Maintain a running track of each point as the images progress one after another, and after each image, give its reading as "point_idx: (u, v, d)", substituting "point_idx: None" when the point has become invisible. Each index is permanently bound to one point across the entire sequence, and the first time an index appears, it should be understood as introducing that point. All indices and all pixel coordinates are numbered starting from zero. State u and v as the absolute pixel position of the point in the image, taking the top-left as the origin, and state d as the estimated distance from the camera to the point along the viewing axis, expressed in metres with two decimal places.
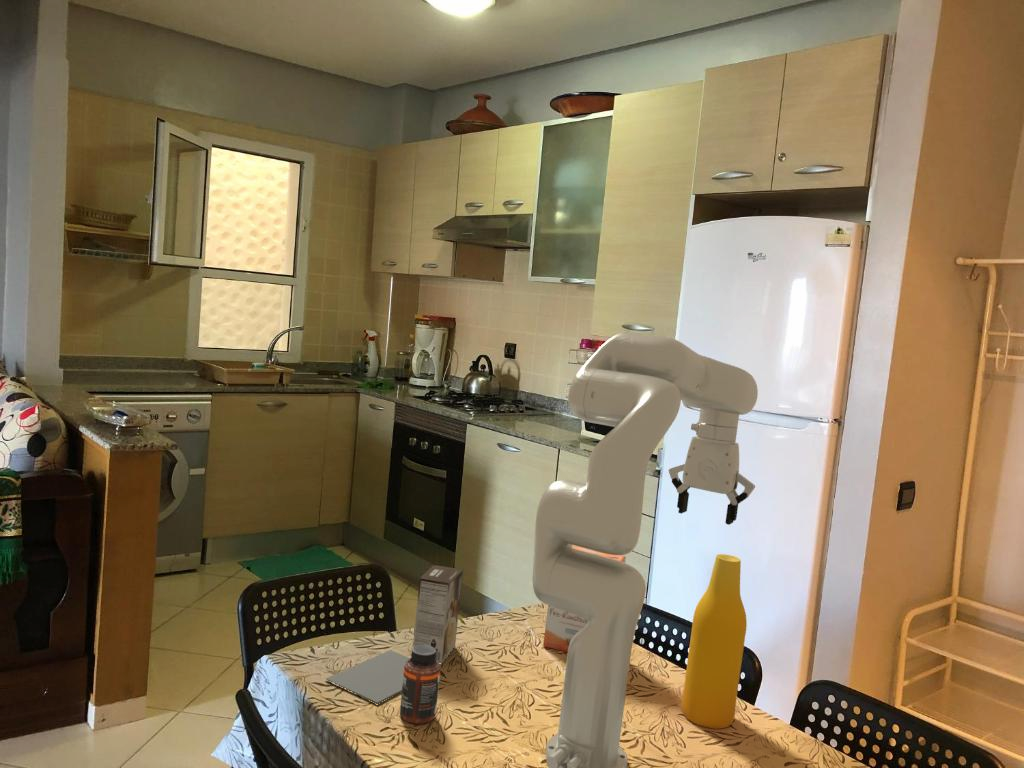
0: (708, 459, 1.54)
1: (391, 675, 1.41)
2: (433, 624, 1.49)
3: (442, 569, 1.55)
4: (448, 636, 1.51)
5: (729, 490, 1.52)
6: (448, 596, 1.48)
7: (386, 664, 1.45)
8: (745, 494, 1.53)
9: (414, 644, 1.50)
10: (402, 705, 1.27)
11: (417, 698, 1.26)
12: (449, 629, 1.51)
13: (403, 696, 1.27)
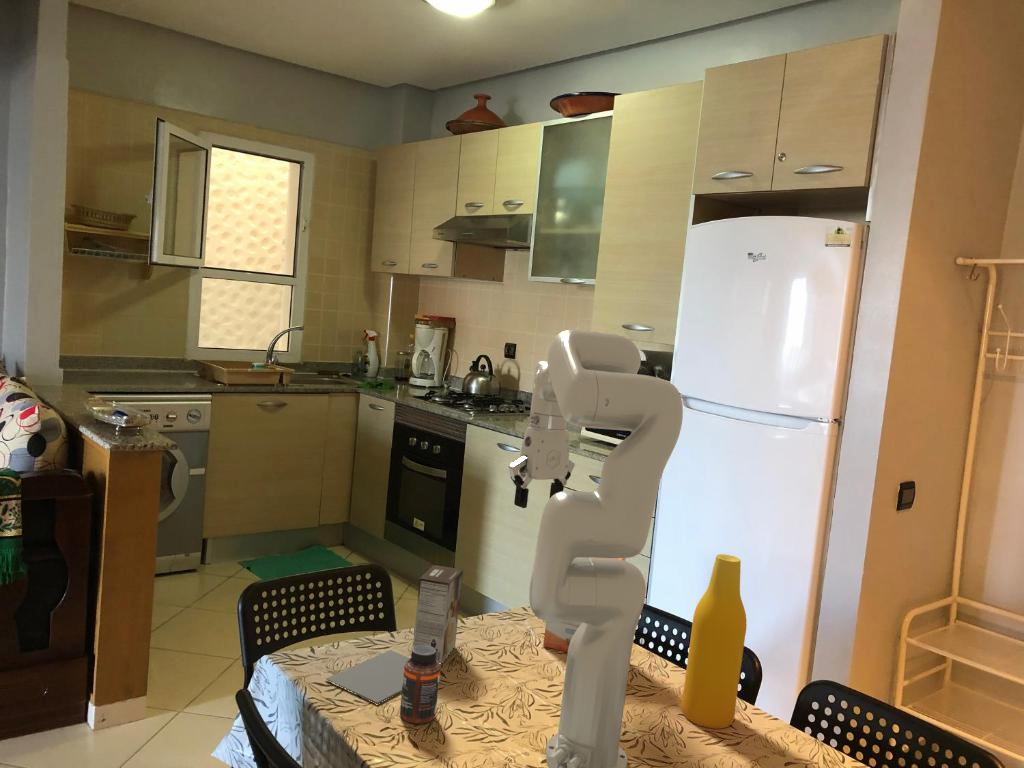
0: (553, 449, 1.58)
1: (391, 675, 1.41)
2: (433, 624, 1.49)
3: (442, 569, 1.55)
4: (448, 636, 1.51)
5: (567, 473, 1.61)
6: (448, 596, 1.48)
7: (386, 664, 1.45)
8: (570, 473, 1.65)
9: (414, 644, 1.50)
10: (402, 705, 1.27)
11: (417, 698, 1.26)
12: (449, 629, 1.51)
13: (403, 696, 1.27)
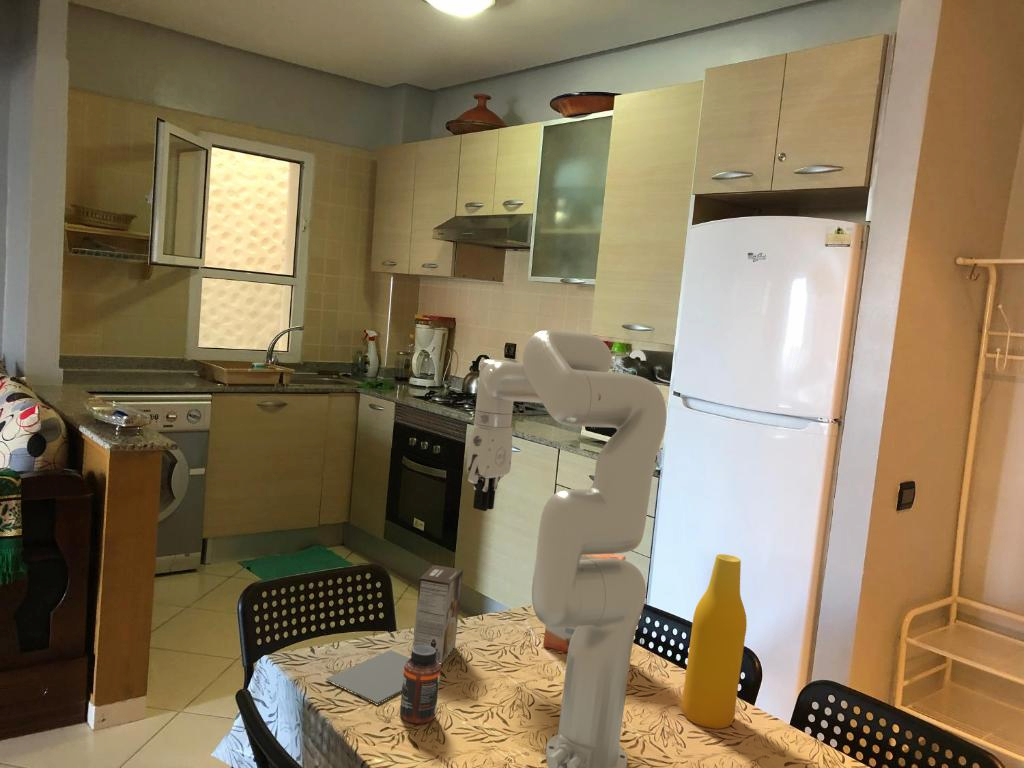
0: (500, 446, 1.59)
1: (391, 675, 1.41)
2: (433, 624, 1.49)
3: (442, 569, 1.55)
4: (448, 636, 1.51)
5: None
6: (448, 596, 1.48)
7: (386, 664, 1.45)
8: (499, 476, 1.64)
9: (414, 644, 1.50)
10: (402, 705, 1.27)
11: (417, 698, 1.26)
12: (449, 629, 1.51)
13: (403, 696, 1.27)
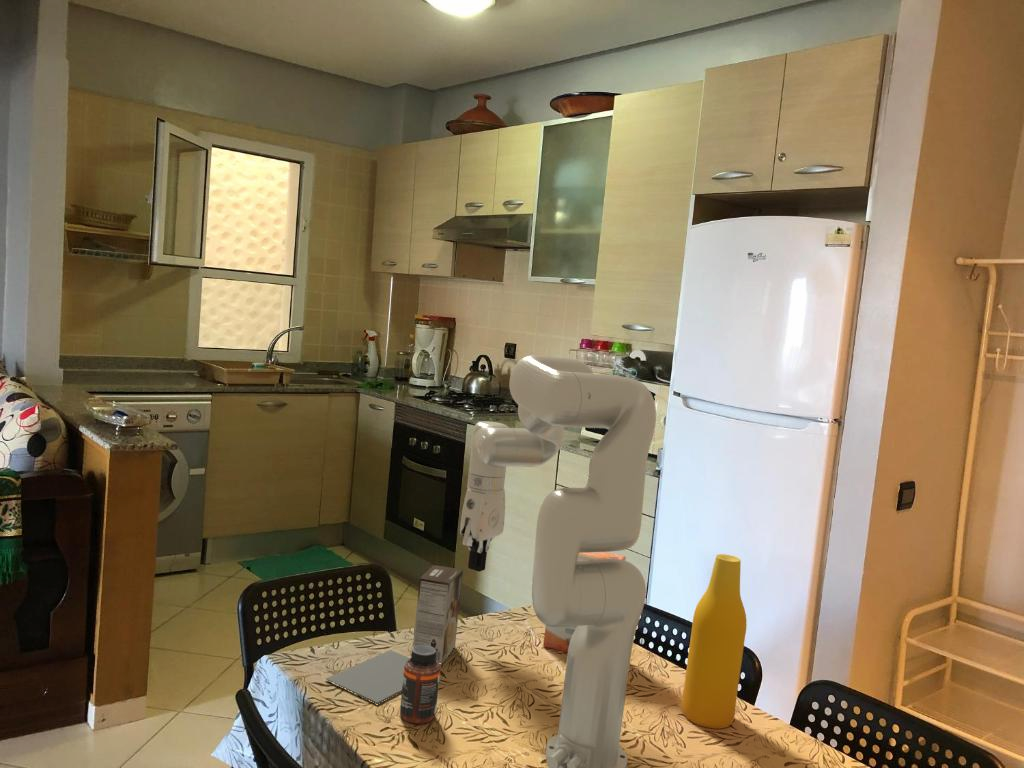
0: (493, 509, 1.60)
1: (391, 675, 1.41)
2: (433, 624, 1.49)
3: (442, 569, 1.55)
4: (448, 636, 1.51)
5: None
6: (448, 596, 1.48)
7: (386, 664, 1.45)
8: None
9: (414, 644, 1.50)
10: (402, 705, 1.27)
11: (417, 698, 1.26)
12: (449, 629, 1.51)
13: (403, 696, 1.27)
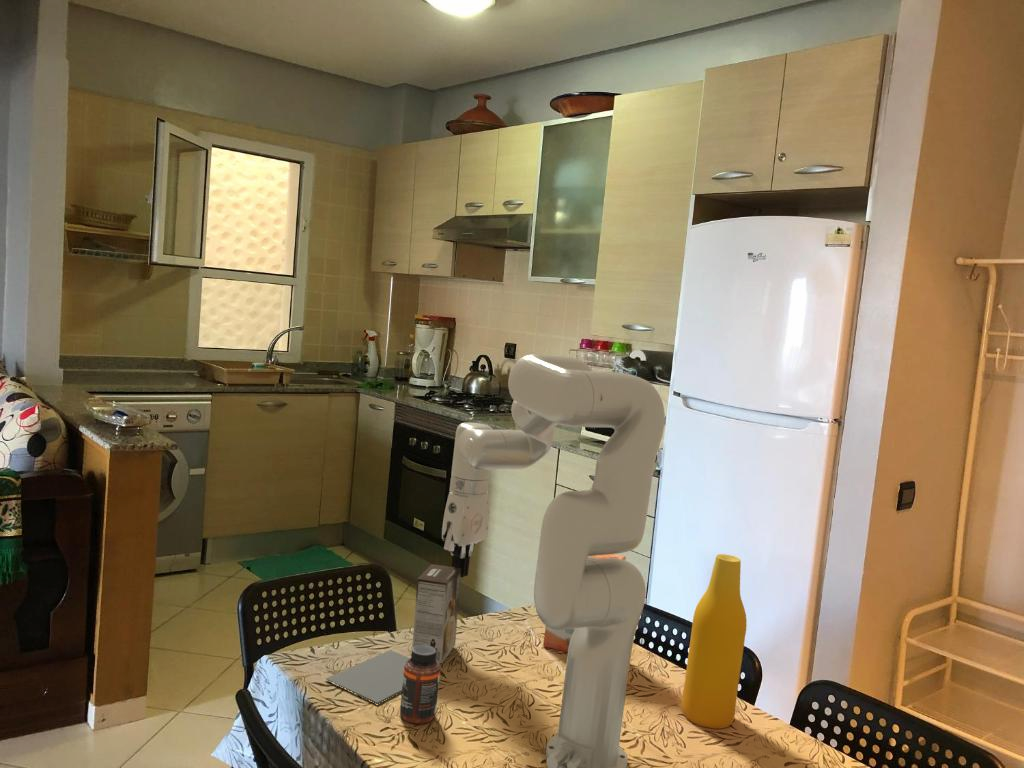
0: (477, 513, 1.55)
1: (391, 675, 1.41)
2: (432, 624, 1.49)
3: (440, 569, 1.54)
4: (448, 635, 1.51)
5: None
6: (446, 595, 1.48)
7: (386, 664, 1.45)
8: None
9: (414, 644, 1.50)
10: (402, 705, 1.27)
11: (417, 698, 1.26)
12: (448, 628, 1.51)
13: (403, 696, 1.27)
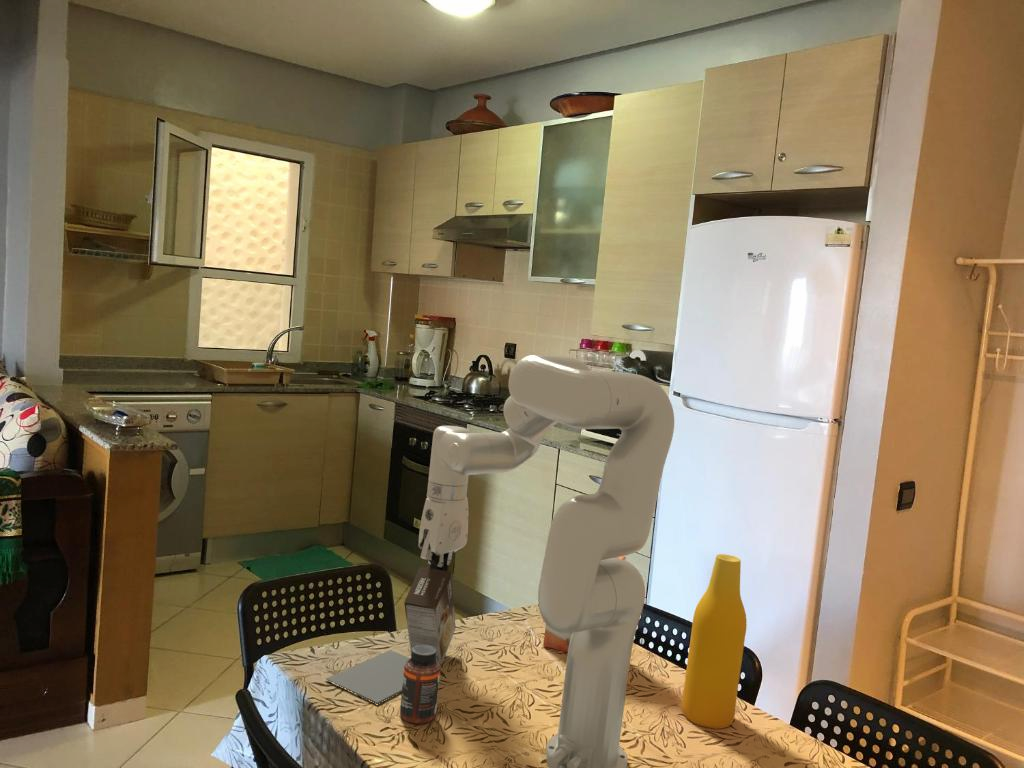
0: (455, 520, 1.49)
1: (391, 675, 1.41)
2: (426, 636, 1.45)
3: (428, 577, 1.46)
4: (444, 638, 1.48)
5: (466, 542, 1.54)
6: (436, 617, 1.42)
7: (386, 664, 1.45)
8: None
9: (411, 649, 1.48)
10: (402, 705, 1.27)
11: (417, 698, 1.26)
12: (444, 633, 1.48)
13: (403, 696, 1.27)
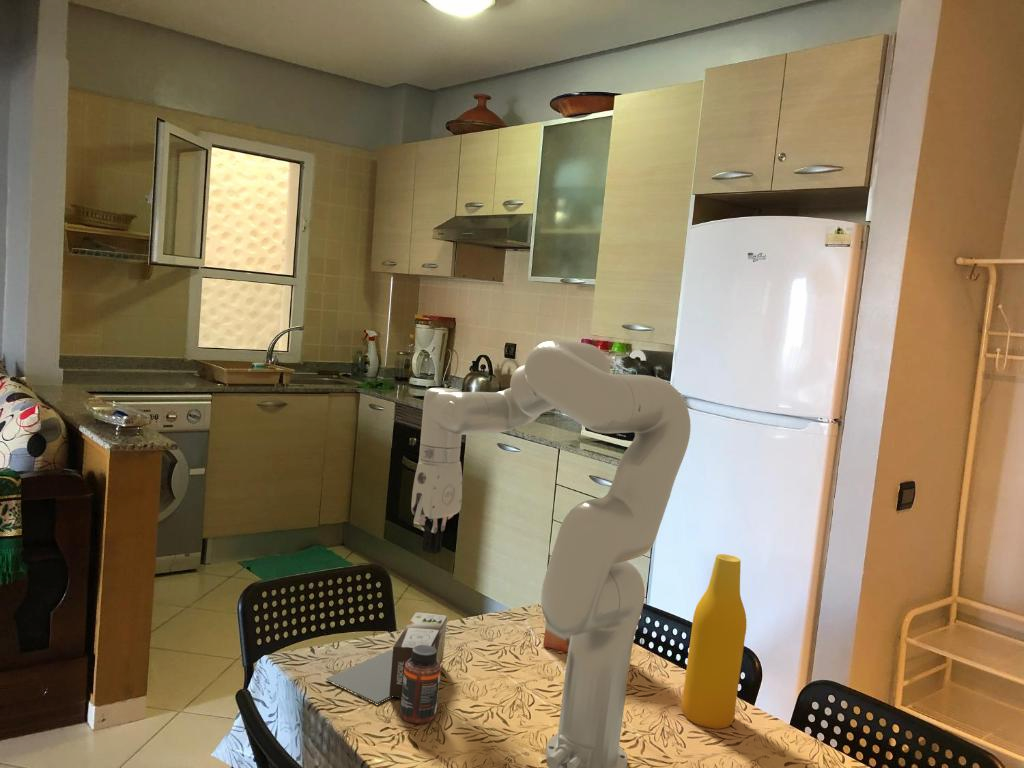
0: (448, 483, 1.45)
1: None
2: None
3: (406, 661, 1.33)
4: (439, 659, 1.44)
5: (460, 508, 1.50)
6: None
7: (386, 664, 1.45)
8: (447, 516, 1.49)
9: None
10: (402, 705, 1.27)
11: (417, 698, 1.26)
12: None
13: (403, 696, 1.27)
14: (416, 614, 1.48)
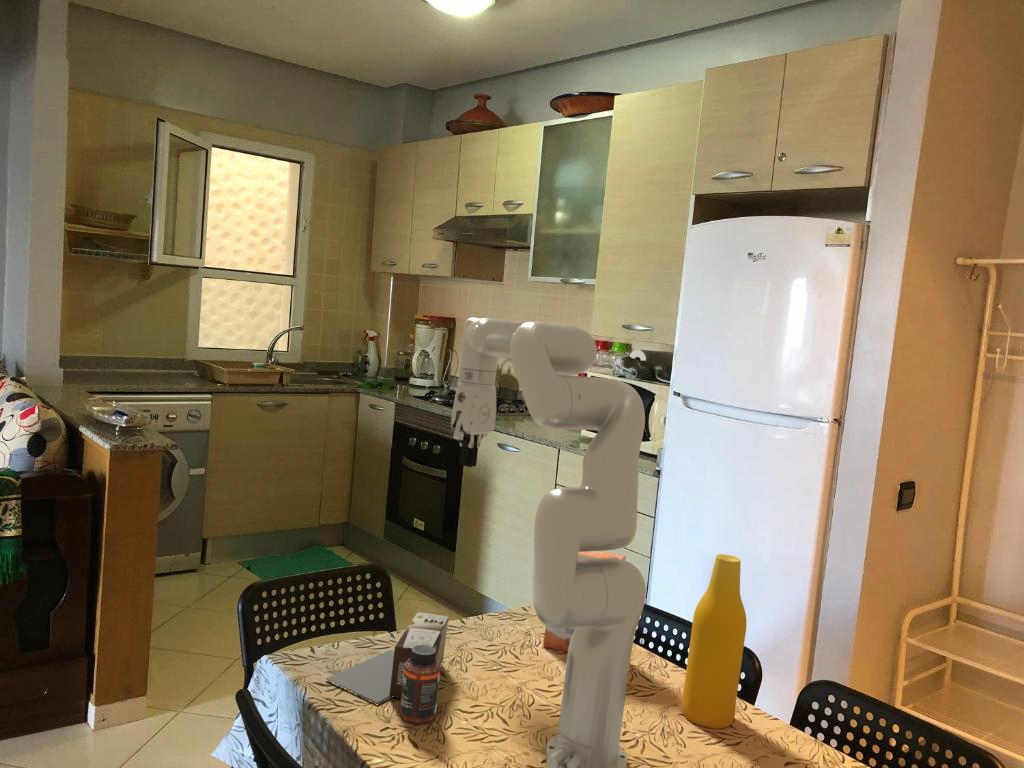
0: (484, 404, 1.61)
1: (391, 675, 1.41)
2: None
3: None
4: (439, 660, 1.44)
5: None
6: None
7: (386, 664, 1.45)
8: (482, 434, 1.65)
9: None
10: (402, 705, 1.28)
11: (417, 698, 1.26)
12: None
13: (403, 696, 1.27)
14: (418, 614, 1.48)
